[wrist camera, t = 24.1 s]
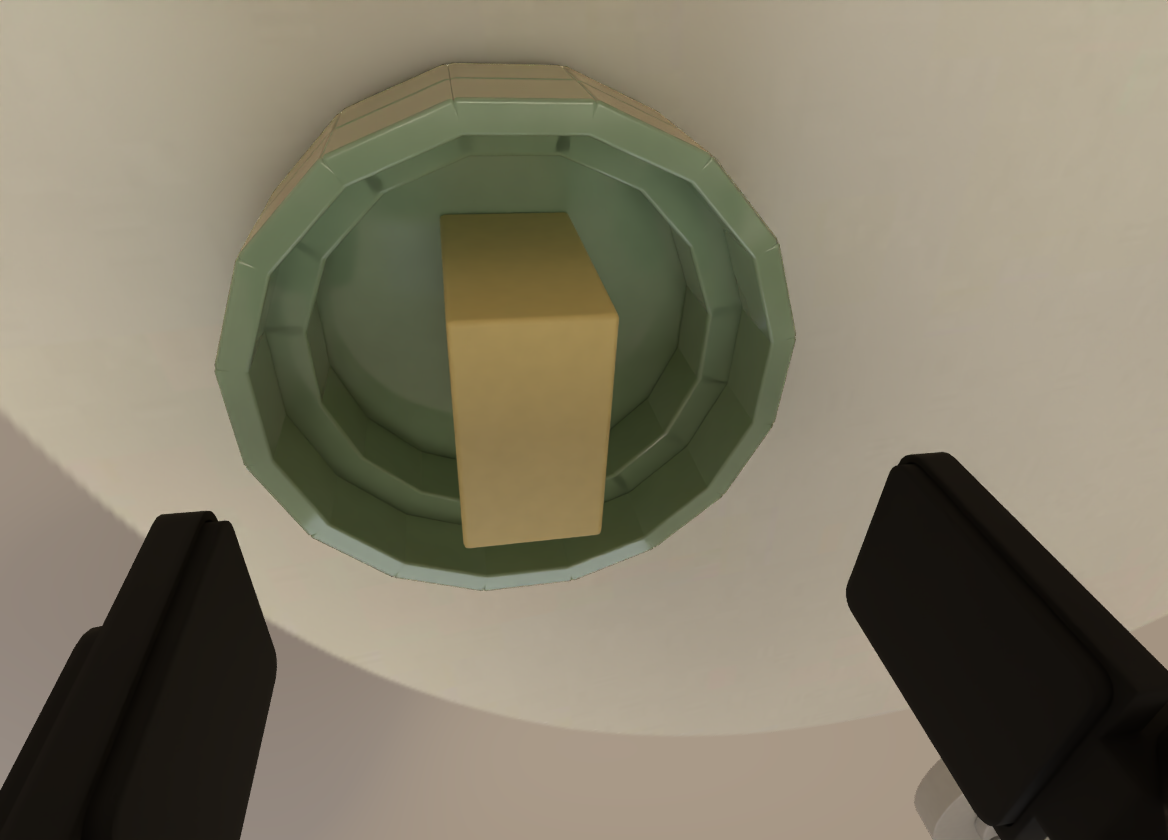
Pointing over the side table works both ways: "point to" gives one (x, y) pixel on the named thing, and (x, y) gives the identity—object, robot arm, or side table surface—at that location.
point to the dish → (418, 328)
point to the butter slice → (527, 376)
